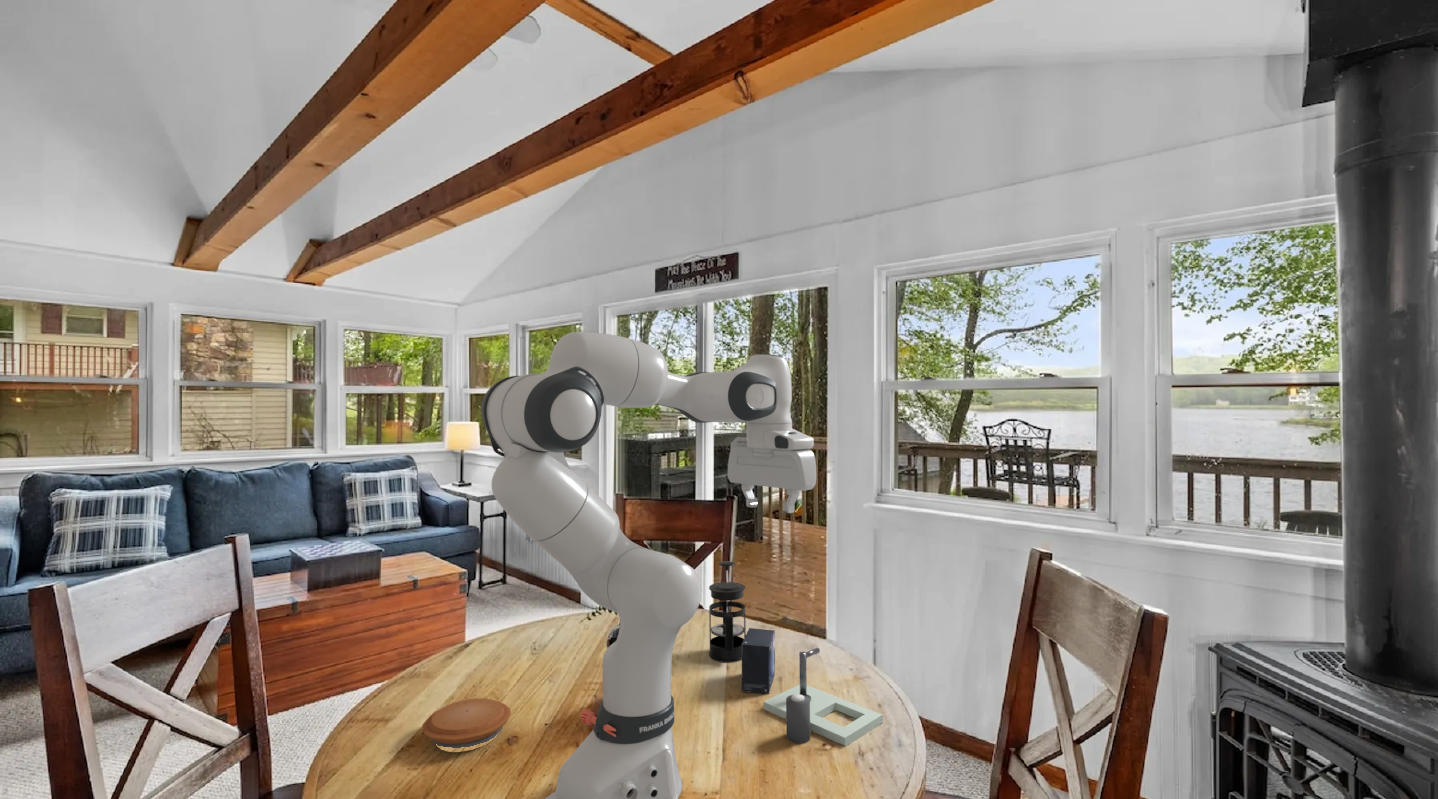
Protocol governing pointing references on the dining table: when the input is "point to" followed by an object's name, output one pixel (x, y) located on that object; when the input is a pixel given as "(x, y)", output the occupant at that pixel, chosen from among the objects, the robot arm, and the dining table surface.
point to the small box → (758, 660)
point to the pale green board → (825, 705)
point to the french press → (726, 620)
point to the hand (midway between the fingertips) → (769, 509)
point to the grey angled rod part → (803, 670)
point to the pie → (466, 722)
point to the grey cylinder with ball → (798, 718)
